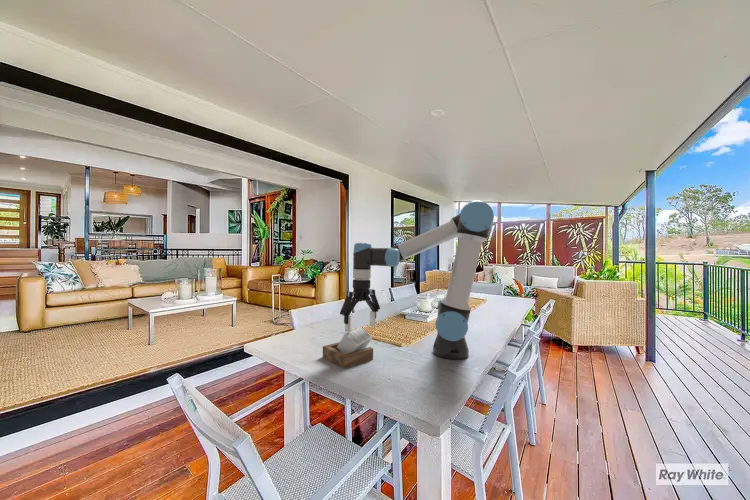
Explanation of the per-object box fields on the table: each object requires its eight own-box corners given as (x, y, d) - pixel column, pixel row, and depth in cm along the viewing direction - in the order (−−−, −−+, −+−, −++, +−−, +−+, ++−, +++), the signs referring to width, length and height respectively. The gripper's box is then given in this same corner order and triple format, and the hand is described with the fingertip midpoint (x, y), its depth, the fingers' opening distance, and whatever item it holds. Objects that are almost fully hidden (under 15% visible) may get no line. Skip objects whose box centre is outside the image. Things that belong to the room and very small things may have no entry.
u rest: (373, 359, 118) (373, 348, 118) (344, 368, 109) (344, 356, 109) (350, 349, 129) (350, 339, 129) (322, 357, 120) (322, 346, 120)
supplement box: (364, 350, 126) (348, 360, 115) (353, 338, 129) (335, 347, 118) (373, 337, 124) (357, 346, 113) (361, 326, 127) (344, 333, 116)
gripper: (377, 276, 135) (376, 322, 135) (332, 279, 118) (330, 331, 118) (388, 278, 129) (387, 325, 129) (343, 281, 112) (341, 336, 112)
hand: (360, 328), depth 124 cm, fingers open, 13 cm apart
